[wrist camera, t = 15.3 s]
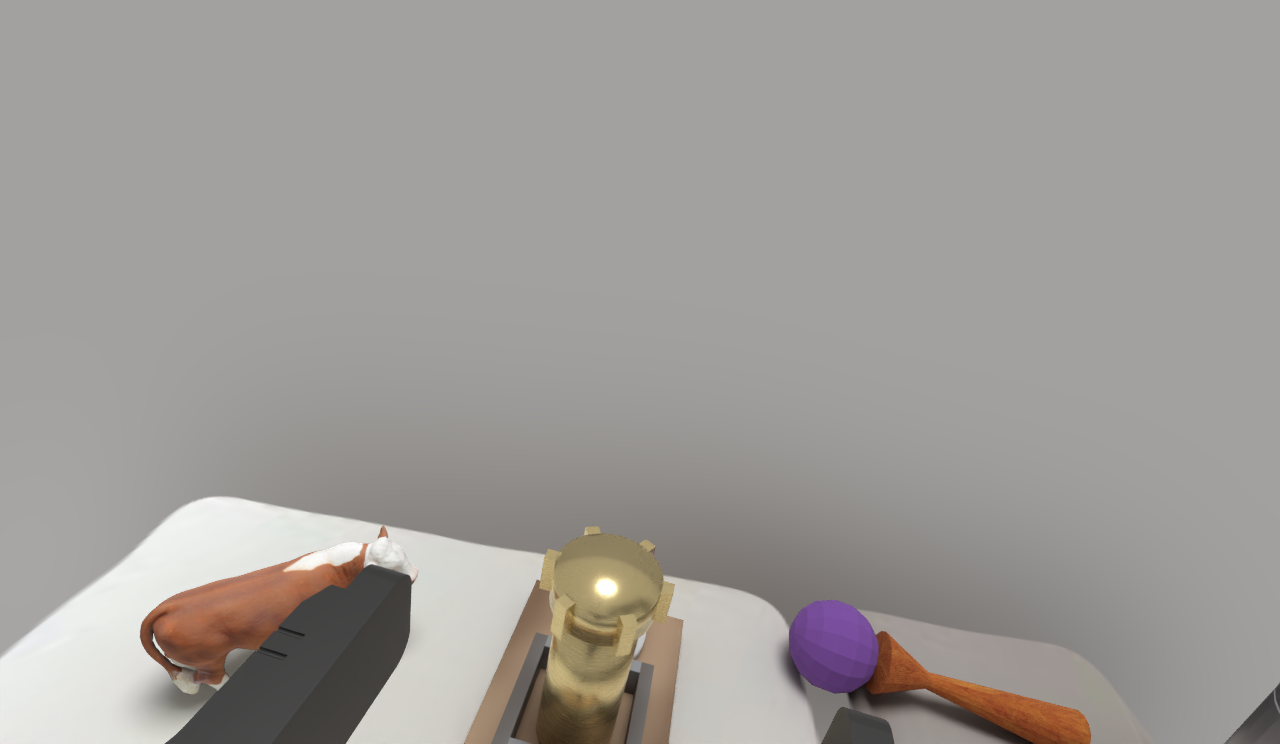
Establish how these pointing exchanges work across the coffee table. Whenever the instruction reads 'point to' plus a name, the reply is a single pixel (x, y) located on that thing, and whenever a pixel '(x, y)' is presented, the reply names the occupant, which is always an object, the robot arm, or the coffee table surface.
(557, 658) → the brass pinion
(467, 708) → the coffee table surface
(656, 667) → the board
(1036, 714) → the kendama
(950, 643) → the coffee table surface
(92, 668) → the coffee table surface
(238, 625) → the bull figurine
